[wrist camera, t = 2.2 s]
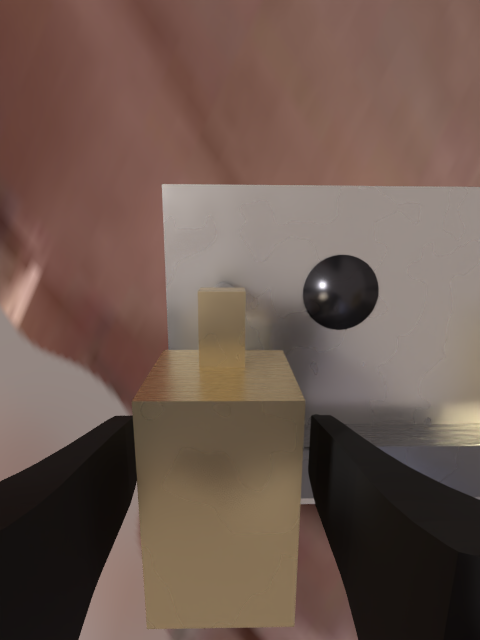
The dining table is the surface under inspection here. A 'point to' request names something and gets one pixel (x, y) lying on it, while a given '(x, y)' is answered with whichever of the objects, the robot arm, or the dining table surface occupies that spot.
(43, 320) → the dining table surface
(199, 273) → the plate
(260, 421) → the leg
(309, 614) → the dining table surface
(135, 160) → the dining table surface
